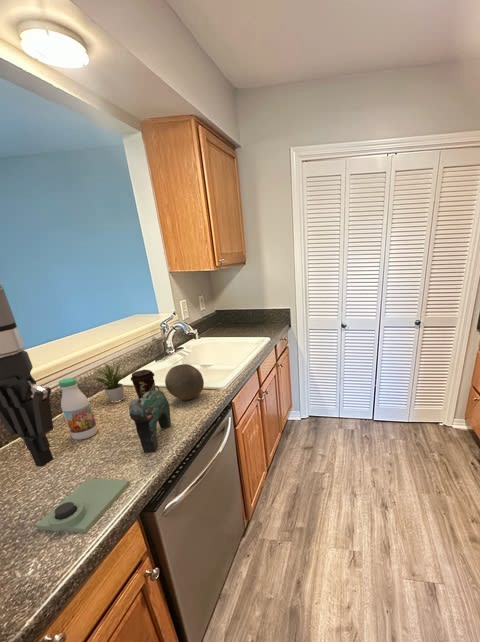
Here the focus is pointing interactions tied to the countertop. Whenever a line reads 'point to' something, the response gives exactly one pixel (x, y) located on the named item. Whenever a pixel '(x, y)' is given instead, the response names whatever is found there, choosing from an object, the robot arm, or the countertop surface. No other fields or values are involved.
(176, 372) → the dark brown ball
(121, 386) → the house plant
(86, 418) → the milk bottle
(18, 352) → the robot arm
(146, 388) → the coffee cup
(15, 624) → the countertop surface
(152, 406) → the teal painted figure
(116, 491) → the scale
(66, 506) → the tare button
